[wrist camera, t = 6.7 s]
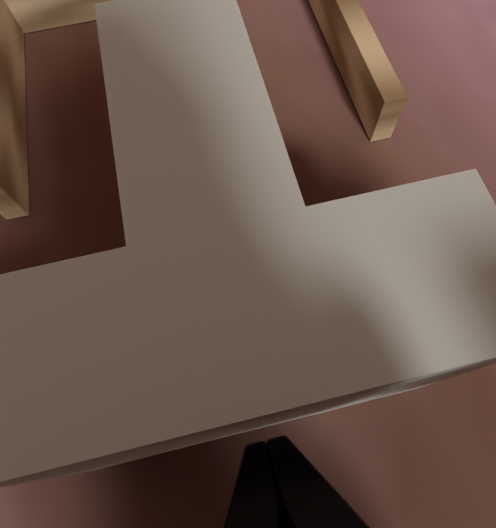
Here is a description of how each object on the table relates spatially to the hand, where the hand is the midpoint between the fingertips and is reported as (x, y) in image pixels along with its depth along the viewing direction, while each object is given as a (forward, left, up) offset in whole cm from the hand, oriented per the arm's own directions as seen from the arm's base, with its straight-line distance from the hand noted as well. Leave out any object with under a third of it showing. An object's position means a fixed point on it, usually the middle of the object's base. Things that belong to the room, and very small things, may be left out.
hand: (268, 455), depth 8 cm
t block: (+5, +5, -7) cm, 10 cm away
